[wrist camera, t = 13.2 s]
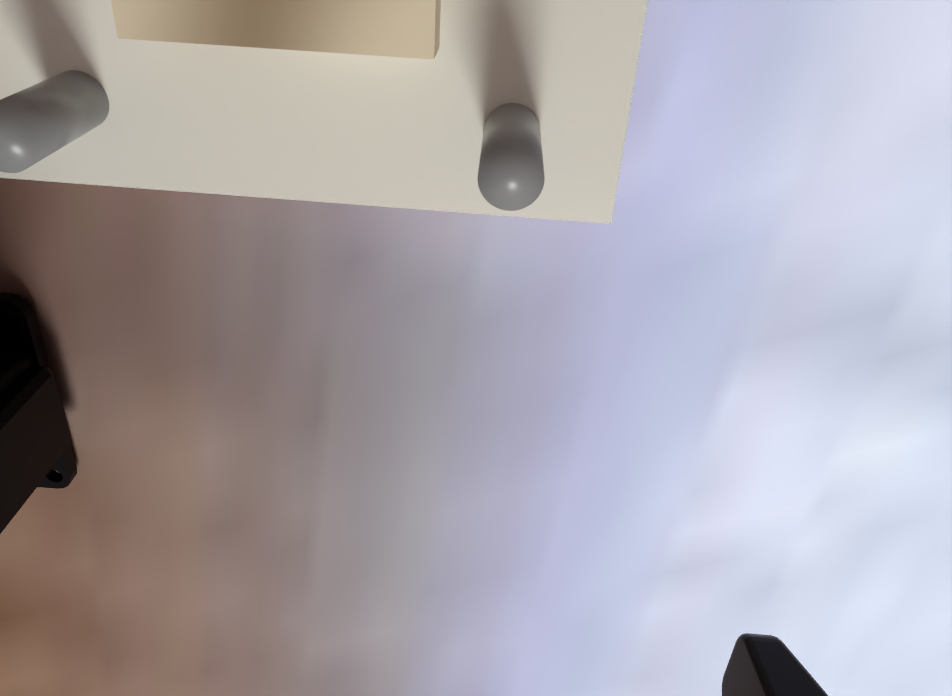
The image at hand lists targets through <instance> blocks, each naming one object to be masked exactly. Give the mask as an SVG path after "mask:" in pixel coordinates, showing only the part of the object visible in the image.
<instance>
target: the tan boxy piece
mask: <svg viewBox="0 0 952 696" xmlns="http://www.w3.org/2000/svg"><path fill="white" fill-rule="evenodd" d="M111 3H112V9H113V14H114V20H115V26H116V31H117V37H118V38H119V39H134V40H149V41H164V42H179V43H194V44H209V45H224V46H239V47H254V48H269V49H284V50H299V51H314V52H329V53H344V54H359V55H374V56H389V57H404V58H419V59H435V56H436V54H437V52H438V50H439V47H440V12H441V0H111Z"/></svg>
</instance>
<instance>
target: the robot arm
mask: <svg viewBox="0 0 952 696" xmlns="http://www.w3.org/2000/svg"><path fill="white" fill-rule="evenodd" d="M7 309H8V310H11V311H12V312H13V313H15V315H16V316H17V318H15V317H13V316H11V315H10V314H9V313H8V311H7ZM70 444H71V437H70V433H69V429H68V425H67V422H66V418H65V414H64V411H63V407H62V403H61V399H60V396H59V392H58V388H57V384H56V381H55V377H54V375H53V373H52V372H51V370H50V367H49V363H48V360H47V356H46V352H45V349H44V345H43V341H42V337H41V334H40V330H39V326H38V323H37V319H36V315H35V312H34V309H33V307H32V305H31V304H30V303H29V302H28V301H27V300H26V299H24V298H23V297H21V296H19V295H15V294H11V293H0V534H1V532H2V531H3V530H4V529H5V527H6V526H7V525H8V523H9V522H10V521H11V520H12V518H13V517H14V516H15V514H16V513H17V512H18V511H19V509H20V508H21V507H22V506H23V504H24V503H25V502H26V500H27V499H28V498H29V497H30V495H31V494H32V493H33V491H34V490H35V489H36V488H37V487H45V488H65V487H67V486H68V485H69V484H70V483H71V481H72V480H73V479H74V477H75V476H76V474H77V467H76V463H75V459H74V456H73V452H72V448H71V445H70ZM55 470H57V471H58V472H60V473H58V472H57V471H55ZM722 696H828V695H827V694H826V692H825V691H824V690H823V689H822V688H821V687H820V685H819V684H818V683H817V682H816V681H815V680H814V678H813V677H812V676H811V675H810V674H809V672H808V671H807V670H806V669H805V668H804V667H803V665H802V664H801V663H800V662H799V661H798V660H797V658H796V657H795V656H794V655H793V654H792V653H791V651H790V650H789V649H788V648H787V647H786V645H785V644H784V643H783V642H782V641H781V640H779V639H778V638H777V637H775V636H771V635H760V634H748V633H746V634H742V635H741V636H739V637H738V639H737V641H736V644H735V646H734V649H733V652H732V654H731V657H730V660H729V663H728V665H727V668H726V671H725V674H724V677H723V682H722Z"/></svg>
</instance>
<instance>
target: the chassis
mask: <svg viewBox="0 0 952 696" xmlns="http://www.w3.org/2000/svg"><path fill="white" fill-rule="evenodd" d="M647 2H648V0H441V12H440V47H439V50H438V52H437V54H436V56H435V59H419V58H404V57H389V56H374V55H359V54H344V53H329V52H314V51H299V50H284V49H269V48H254V47H239V46H224V45H209V44H194V43H179V42H164V41H149V40H134V39H119V38H118V37H117V31H116V26H115V20H114V14H113V9H112V3H111V0H0V178H11V179H24V180H37V181H50V182H64V183H77V184H90V185H103V186H117V187H130V188H143V189H156V190H170V191H183V192H196V193H210V194H223V195H236V196H249V197H263V198H276V199H289V200H302V201H316V202H329V203H342V204H356V205H369V206H382V207H395V208H409V209H422V210H435V211H448V212H462V213H475V214H488V215H502V216H515V217H528V218H541V219H555V220H568V221H581V222H594V223H608V224H611V221H612V215H613V209H614V203H615V197H616V191H617V185H618V179H619V173H620V166H621V160H622V154H623V148H624V142H625V136H626V130H627V124H628V118H629V112H630V105H631V99H632V93H633V87H634V81H635V75H636V69H637V63H638V57H639V51H640V44H641V38H642V32H643V26H644V20H645V14H646V8H647Z"/></svg>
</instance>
